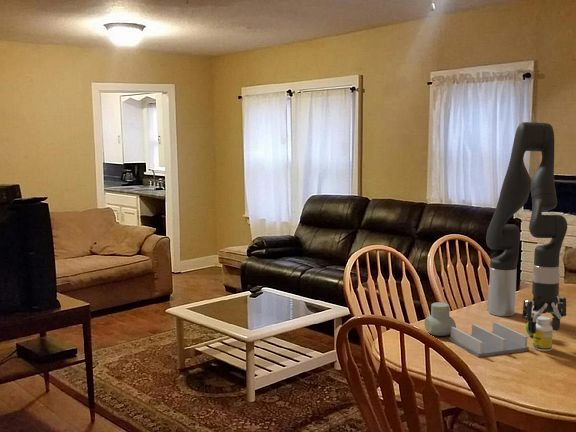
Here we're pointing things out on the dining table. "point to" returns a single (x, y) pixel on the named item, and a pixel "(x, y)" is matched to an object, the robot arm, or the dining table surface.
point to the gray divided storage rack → (489, 340)
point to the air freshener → (439, 320)
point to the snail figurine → (527, 327)
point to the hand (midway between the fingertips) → (543, 331)
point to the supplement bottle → (543, 334)
